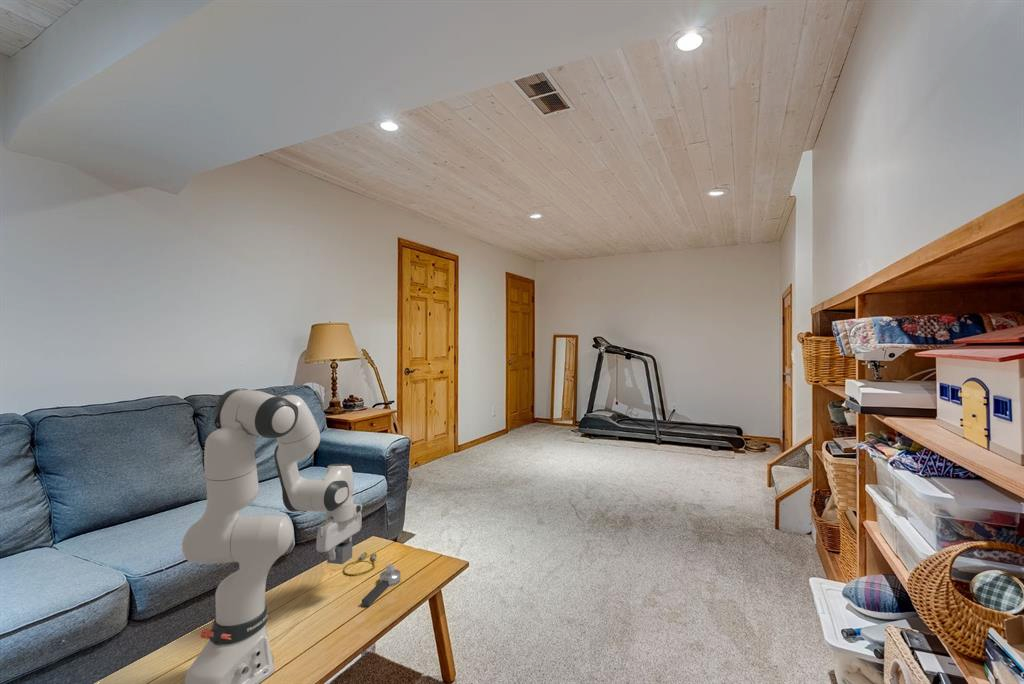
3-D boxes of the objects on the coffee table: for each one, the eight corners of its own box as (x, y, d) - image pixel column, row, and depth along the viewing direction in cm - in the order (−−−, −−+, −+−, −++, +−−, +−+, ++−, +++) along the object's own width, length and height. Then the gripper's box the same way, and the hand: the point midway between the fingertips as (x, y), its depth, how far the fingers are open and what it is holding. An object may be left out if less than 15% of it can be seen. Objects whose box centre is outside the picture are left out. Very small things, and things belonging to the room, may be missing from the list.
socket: (342, 564, 149) (342, 548, 149) (327, 562, 150) (327, 547, 150) (352, 557, 154) (352, 541, 155) (337, 555, 156) (337, 540, 156)
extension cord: (389, 561, 178) (389, 556, 178) (357, 580, 164) (357, 574, 164) (366, 555, 184) (366, 550, 184) (334, 572, 170) (333, 567, 170)
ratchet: (375, 607, 146) (374, 590, 146) (355, 605, 147) (355, 588, 147) (404, 577, 165) (403, 561, 165) (386, 575, 166) (386, 560, 166)
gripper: (328, 523, 142) (328, 569, 142) (364, 503, 162) (365, 543, 161) (310, 522, 144) (311, 567, 143) (348, 502, 164) (349, 542, 163)
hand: (340, 554), depth 152 cm, fingers closed on socket, 6 cm apart
